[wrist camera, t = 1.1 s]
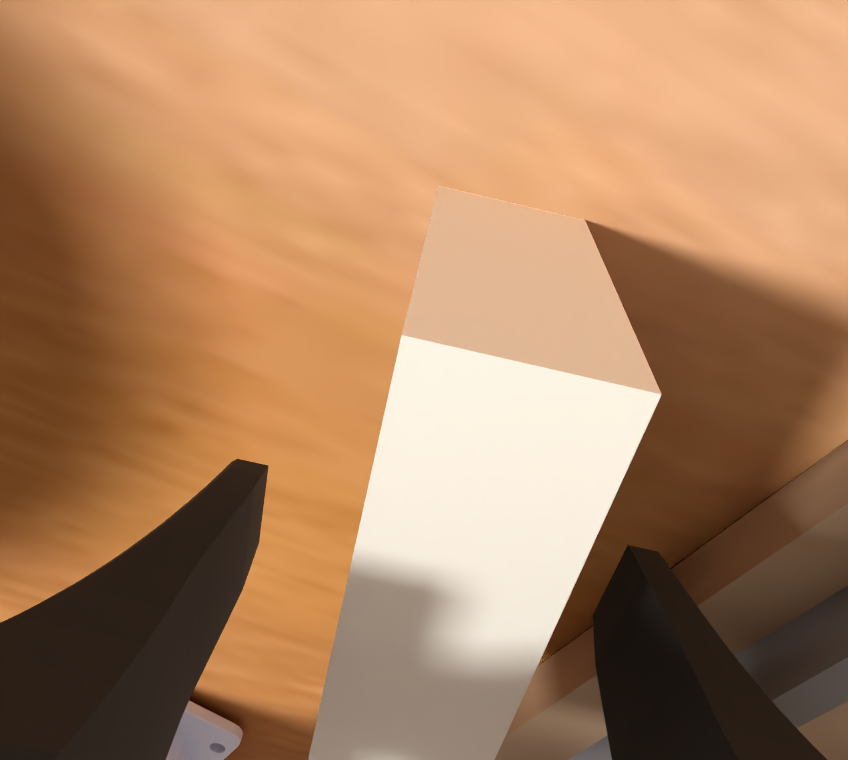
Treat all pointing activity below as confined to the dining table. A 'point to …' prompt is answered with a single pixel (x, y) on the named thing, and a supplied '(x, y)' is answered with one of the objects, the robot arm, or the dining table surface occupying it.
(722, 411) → the dining table surface
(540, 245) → the ivory slab
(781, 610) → the ledge board
